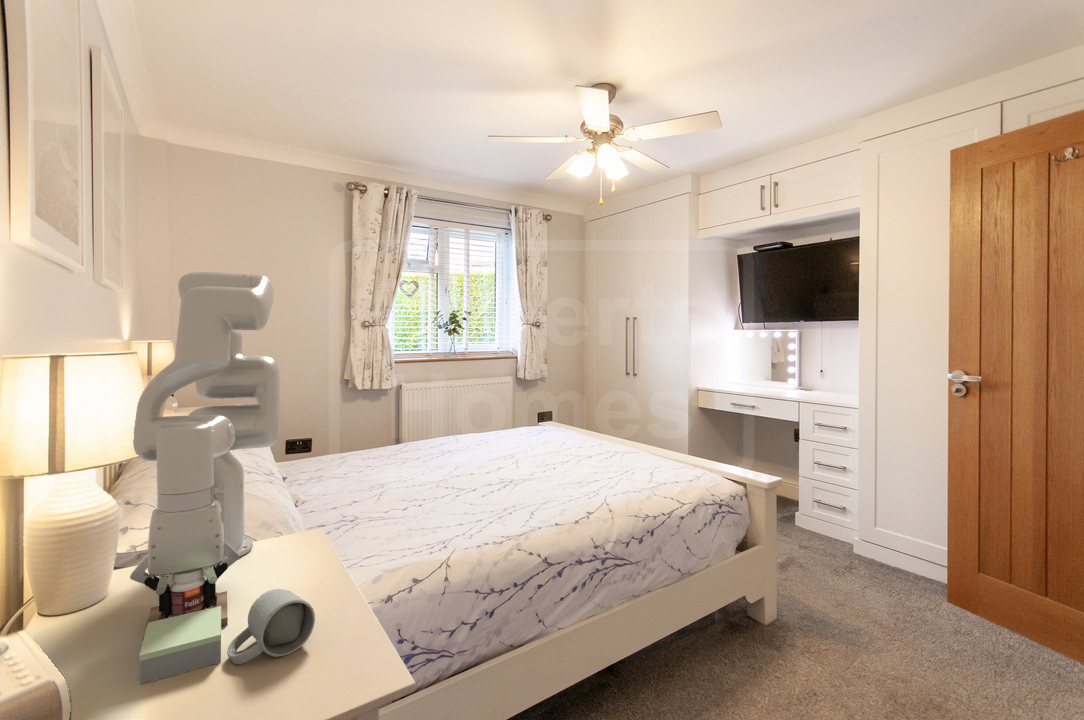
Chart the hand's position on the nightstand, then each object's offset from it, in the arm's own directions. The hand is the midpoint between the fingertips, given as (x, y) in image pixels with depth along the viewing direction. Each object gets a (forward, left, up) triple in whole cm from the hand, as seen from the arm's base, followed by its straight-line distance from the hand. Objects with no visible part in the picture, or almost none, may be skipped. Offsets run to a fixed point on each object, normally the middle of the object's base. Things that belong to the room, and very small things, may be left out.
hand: (188, 608), depth 82 cm
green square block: (+11, 0, -2) cm, 11 cm away
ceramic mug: (+15, +11, -2) cm, 19 cm away
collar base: (0, 0, -2) cm, 2 cm away
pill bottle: (0, 0, -2) cm, 2 cm away
